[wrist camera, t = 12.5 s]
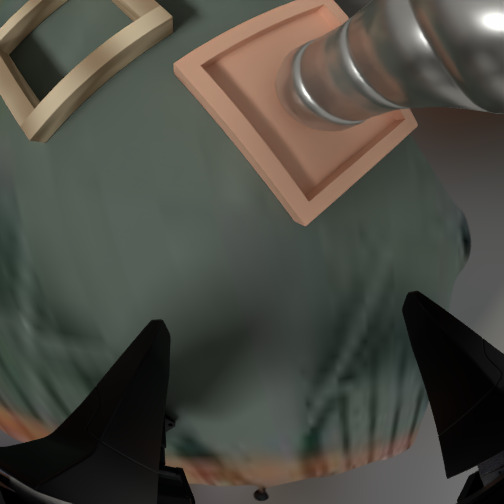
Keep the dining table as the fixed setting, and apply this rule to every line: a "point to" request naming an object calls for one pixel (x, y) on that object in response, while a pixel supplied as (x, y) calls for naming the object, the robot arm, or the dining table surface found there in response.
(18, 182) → the dining table surface
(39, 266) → the dining table surface
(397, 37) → the plastic bottle
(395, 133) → the tray
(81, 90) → the collar
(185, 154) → the dining table surface
